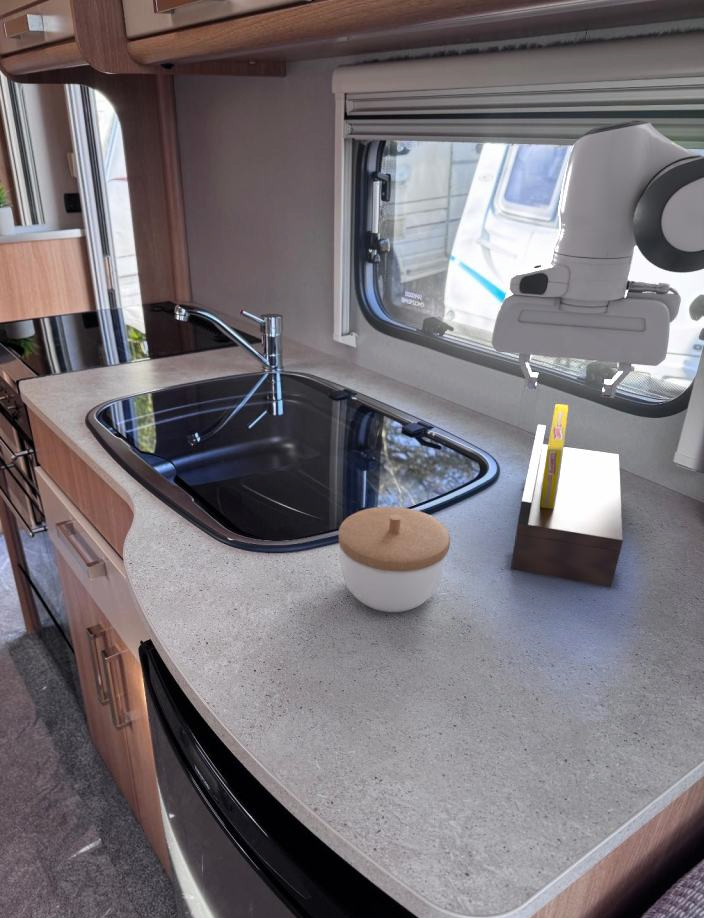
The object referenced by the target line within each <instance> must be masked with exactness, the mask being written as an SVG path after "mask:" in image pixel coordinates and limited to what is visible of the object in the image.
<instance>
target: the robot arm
mask: <svg viewBox="0 0 704 918" xmlns="http://www.w3.org/2000/svg"><path fill="white" fill-rule="evenodd" d="M565 167H566V168H565V172H564V175H563V176H564V177H563V182H562V186H561V193H560V198H559V204H558V217H559V230H558V235H557V237H556V239H555V242H554V243H553V246H552V252H551V259H548V260H544V261H540V262H537V263H532V264H528V265H524V266H521V267H520V266H519V268H517V269H515V270H514V271H513V272H512V273H511V276H510V278H509V283H508V285H509V287H508V288H509V291H508V292H507V294H506V295H505V297H504V298H503V300H502V302H501V304H500V306H499V308H498V311H497V314H496V319H495V322H494V327H493V332H492V337H491V345H492V347H493V349H494V351H496V352H497V353H504V354H505V353H506V354H517V355H518V362H517V363H518V365H519V367H520V369H521V371H522V373H523V376H524V383H523V389H525V390H536V389H537V383H538V379H539V372H532V369H531V367H530V364H529V363H531V359H532V356H540V357H551V358H559V359H571V360H572V359H573V360H585V361H594V362H605V363H606V362H607V363H617V365H616V366H617V367H616V368H617V371H618V372H616V374H615V375H614V376H613V377H612V379H604V381H603V387H602V392H601V397H602V398H611V399H615V397H616V393H617V388H618V386H619V385H620V384H621V383H622V382H623V381H624V379H626V377H627V376H628V375H629V374H630V373H631V369H632V365H639V366H640V365H641V366H649V367H650V366H652V367H657V366H659V365H660V364H661V363H662V362H664V361H665V360H666V358H667V354H668V348H669V340H670V327H671V323H673V322H674V320H675V319H677V316H678V314H679V311H680V307H681V301H682V299H681V295H680V293H679V291H678V290H677V289H676V288H674V287H672V286H671V285H670V284H669V283H665V282H657V283H655V282H654V283H652V282H646V281H636V280H629V279H630V272H631V268H632V262H633V258H634V253H635V248H638V250H639V252H640V253H641V255H642V256H643V257H644V258H645V259H646V261H648V262H649V263H650V264H652V265H653V266H654V267H657V269H661V270H664V271H666V272H672V273H678V274H679V273H680V274H683V273H685V274H687V273H693V272H698V271H701V270H704V155H701V154H699V153H697V152H694V151H692V150H689V149H687V148H685V147H683V146H681V145H680V144H678V143H676V142H674V141H673V140H671V139H670V138H668V137H666V136H665V135H663V134H662V133H661V132H659V131H658V130H657V129H656V128H655V127H654V126H653V125H652V123H651V122H649V121H646V120H641V119H635V120H631V121H630V120H629V121H623V122H618V123H613V124H608V125H602V126H598V127H594V128H591V129H590V130H588V131H586V132H584V133H583V134H582V135H581V136H580V137H579V138H578V139H577V140H576V141H575V142H574V144H573V146H572V148H571V151H570V154H569V155H568V160H567V164H566V166H565ZM669 292H670V293H669Z"/></svg>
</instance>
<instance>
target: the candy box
mask: <svg viewBox="0 0 704 918" xmlns="http://www.w3.org/2000/svg"><path fill="white" fill-rule="evenodd" d="M568 415H569V405H568V404H559V403H556V404H555V406H554V409H553V417H552V421H551V426H550V431H549V437H548V442H547V445H548V448H547V454H546V461H545V467H544V474H543V482H542V491H541V499H540V507H543V508H550V509H554V507H555V501H556V496H557V490H558V484H559V478H560V471H561V464H562V457H563V450H564V447H565V441H566V432H567V424H568Z"/></svg>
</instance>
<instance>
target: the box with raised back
mask: <svg viewBox="0 0 704 918" xmlns="http://www.w3.org/2000/svg"><path fill="white" fill-rule="evenodd" d="M546 429H547V425H544V424H537V425H536V430H535V435H534V440H533V445H532V449H531V455H530V459H529V464H528V469H527V473H526V476H525V477H526V478H525V482H524V487H523V491H522V497H521V500H520V507H519V514H518V520H517V525H516V531H515V538H514V542H513V543H514V544H513V550H512V557H511V562H510V567H509V568H510V570H515V571H520V572H525V573H532V574H536V575H541V576H547V577H552V578H558V579H563V580H569V581H575V582H580V583H585V584H590V585H595V586H601V587H607V588H612V587H613V583H614V578H615V576H616V575H615V574H616V571H617V567H618V562H619V559H620V555H621V550H622V548H623V547H622V546H623V543H624V532H623V511H622V488H621V487H622V486H621V467H620V454H619V453H612V452H605V451H604V452H603V451H598V450H589V449H583V448H582V449H581V448H573V447H567V446H564V450H563V457H562V464H561V471H560V478H559V484H558V490H557V496H556V501H555V507H554V509H550V508H543V507H540V499H541V491H542V482H543V474H544V467H545V461H546V454H547V448H548V444H544V440H545V434H546Z"/></svg>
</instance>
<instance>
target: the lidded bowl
mask: <svg viewBox="0 0 704 918" xmlns="http://www.w3.org/2000/svg"><path fill="white" fill-rule="evenodd" d="M450 536H451V535H450V532H449V530H448V528H447V527H446V526H445V525H444V524H443V523H442V522H441V520H439V519H437V518H435V517H434V516H433V515H430V514H428V513H425V512H424V511H423V512H422V511H420V510H417V509H412V508H407V507H403V506H402V507H401V506H378V507H370V508H365V509H363V510H359V511H357V512H355V513H352V514H351V515H349V516H347V517H346V518H345V519H344V520H343V521H342V522H341V524H340V525H339V528H338V545H339V563H340V570H341V574H342V578H343V581H344V583H345V585H346V587H347V589H348V591H350V593H351V594H352V595H353V596H354V597H355V599H357V600H358V601H359V602H360V603H361V604H363V605H365V606H366V607H368V608H370V609H373V610H376V611H379V612H384V613H402V612H407V611H410V610H411V611H412V610H413V609H415V608H417V607H420V606H421V605H422V604H424V603H425V602H427V601H428V600H429V599H430V598H431V597H432V596H433V595H434V594H435V592H436V590H437V589H438V587H439V585H440V584H441V581H442V578H443V576H444V572H445V570H446V566H447V565H446V564H447V558H448V552H449V549H450V546H451V545H450V543H451V537H450Z"/></svg>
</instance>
